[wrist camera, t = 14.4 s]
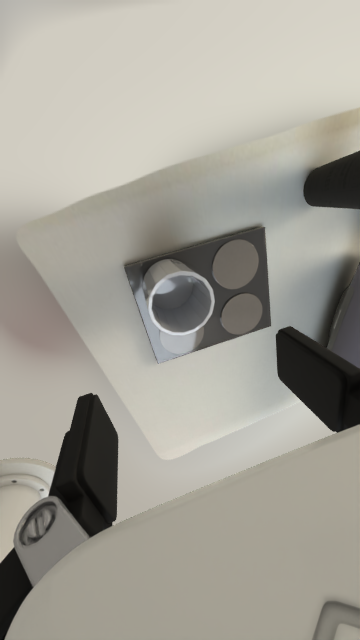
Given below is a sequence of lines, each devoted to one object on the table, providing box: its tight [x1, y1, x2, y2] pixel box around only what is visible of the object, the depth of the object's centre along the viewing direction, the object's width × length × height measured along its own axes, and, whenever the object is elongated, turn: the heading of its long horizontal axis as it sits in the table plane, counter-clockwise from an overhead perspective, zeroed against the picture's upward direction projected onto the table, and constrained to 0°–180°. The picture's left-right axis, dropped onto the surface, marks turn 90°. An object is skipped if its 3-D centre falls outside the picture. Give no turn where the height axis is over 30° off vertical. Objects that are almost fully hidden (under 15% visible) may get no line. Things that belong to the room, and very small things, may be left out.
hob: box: [124, 227, 271, 364], centre depth 34 cm, size 20×16×1 cm
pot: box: [143, 259, 215, 335], centre depth 28 cm, size 7×7×8 cm
